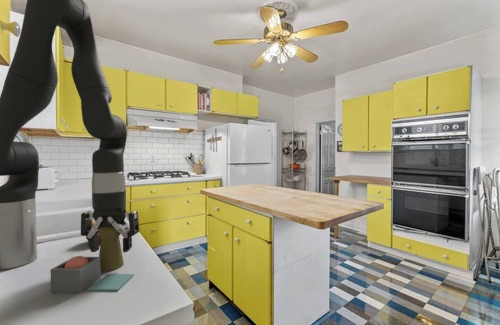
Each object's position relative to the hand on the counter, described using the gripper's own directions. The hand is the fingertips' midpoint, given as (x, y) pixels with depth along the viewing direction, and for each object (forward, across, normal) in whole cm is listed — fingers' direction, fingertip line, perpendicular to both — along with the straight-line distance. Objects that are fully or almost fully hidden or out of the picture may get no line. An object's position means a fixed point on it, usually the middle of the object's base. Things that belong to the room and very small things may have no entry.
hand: (111, 251), depth 62 cm
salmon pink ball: (+3, -2, -9) cm, 10 cm away
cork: (+4, 0, 0) cm, 4 cm away
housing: (+4, -2, -9) cm, 10 cm away
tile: (+4, +5, -8) cm, 10 cm away
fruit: (+4, -15, +18) cm, 24 cm away
